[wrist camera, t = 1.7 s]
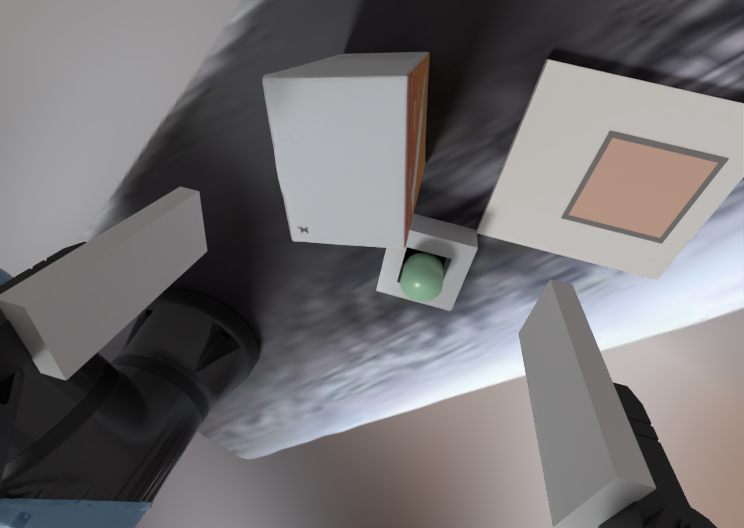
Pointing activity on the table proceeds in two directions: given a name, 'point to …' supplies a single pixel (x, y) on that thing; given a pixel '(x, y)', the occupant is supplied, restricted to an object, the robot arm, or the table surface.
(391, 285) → the button box
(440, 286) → the button
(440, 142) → the table surface
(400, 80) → the small box
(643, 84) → the sheet
